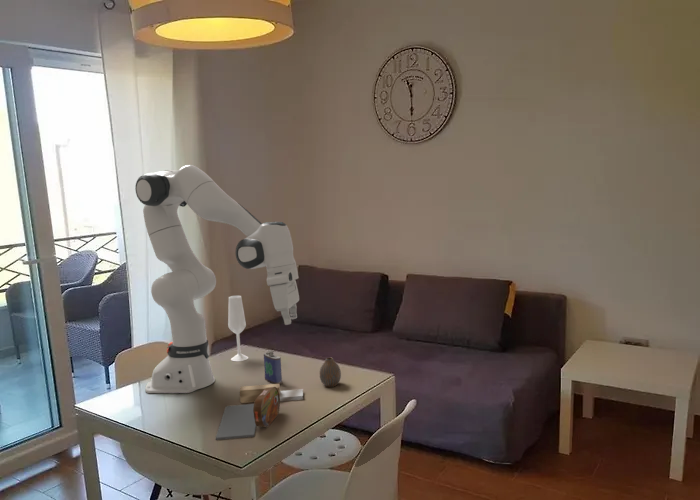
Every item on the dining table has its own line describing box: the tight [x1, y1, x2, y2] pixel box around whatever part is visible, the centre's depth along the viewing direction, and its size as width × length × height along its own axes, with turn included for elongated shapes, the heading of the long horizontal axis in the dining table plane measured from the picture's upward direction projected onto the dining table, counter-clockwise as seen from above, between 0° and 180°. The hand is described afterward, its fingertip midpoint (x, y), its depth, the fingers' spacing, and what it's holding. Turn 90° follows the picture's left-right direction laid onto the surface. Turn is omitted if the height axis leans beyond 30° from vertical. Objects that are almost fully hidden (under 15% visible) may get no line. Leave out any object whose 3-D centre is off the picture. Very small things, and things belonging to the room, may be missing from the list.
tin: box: [253, 387, 281, 428], centre depth 164 cm, size 15×3×8 cm, turn 168°
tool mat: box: [215, 403, 257, 441], centre depth 165 cm, size 10×22×1 cm, turn 5°
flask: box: [263, 349, 283, 385], centre depth 197 cm, size 9×3×11 cm, turn 37°
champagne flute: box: [227, 295, 249, 362], centre depth 224 cm, size 7×7×24 cm
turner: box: [239, 383, 304, 404], centre depth 182 cm, size 19×6×4 cm, turn 95°
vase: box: [319, 357, 342, 388], centre depth 191 cm, size 7×7×9 cm
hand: (291, 321), depth 174 cm, fingers open, 8 cm apart
